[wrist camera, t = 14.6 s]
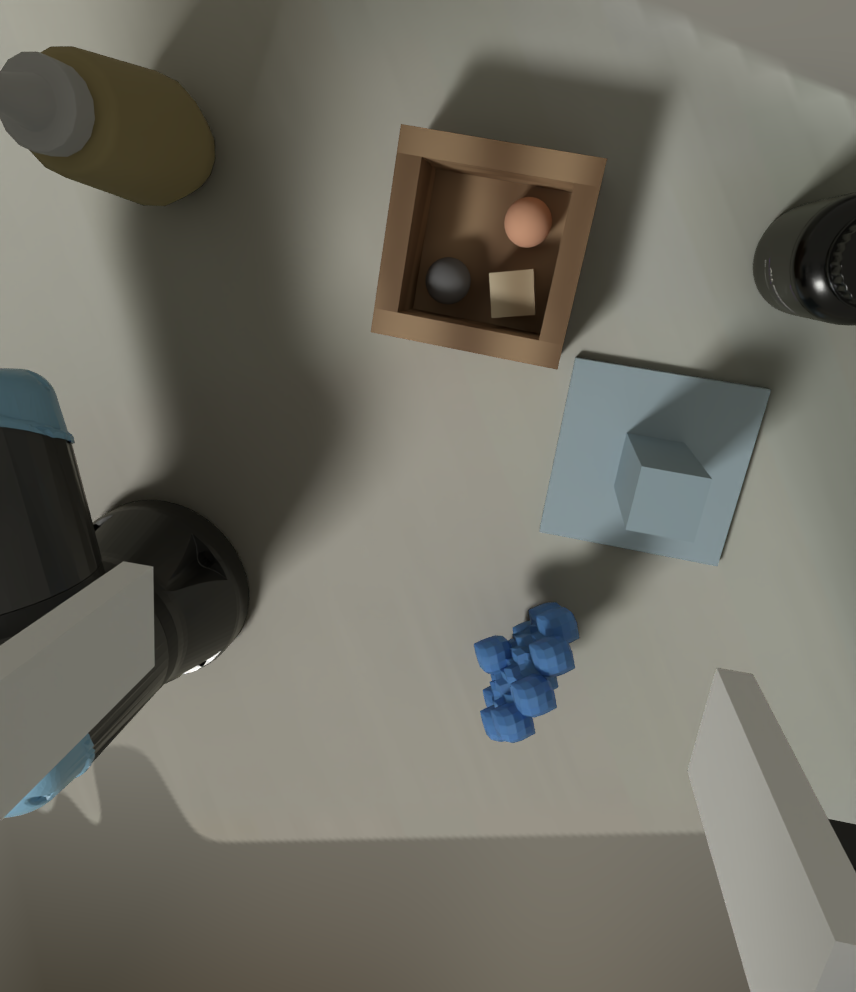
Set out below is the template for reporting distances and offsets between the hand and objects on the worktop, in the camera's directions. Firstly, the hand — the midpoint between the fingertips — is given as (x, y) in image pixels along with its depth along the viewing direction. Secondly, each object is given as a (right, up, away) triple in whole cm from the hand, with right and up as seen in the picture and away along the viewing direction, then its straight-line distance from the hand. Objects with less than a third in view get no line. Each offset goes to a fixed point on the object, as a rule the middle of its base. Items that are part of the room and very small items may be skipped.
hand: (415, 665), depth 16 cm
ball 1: (+2, +19, +32) cm, 37 cm away
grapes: (+8, -6, +40) cm, 41 cm away
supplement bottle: (+24, +19, +28) cm, 42 cm away
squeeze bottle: (-17, +28, +33) cm, 47 cm away
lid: (+16, +6, +34) cm, 38 cm away
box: (+4, +20, +31) cm, 38 cm away
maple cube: (+6, +18, +31) cm, 36 cm away
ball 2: (+7, +22, +30) cm, 38 cm away
